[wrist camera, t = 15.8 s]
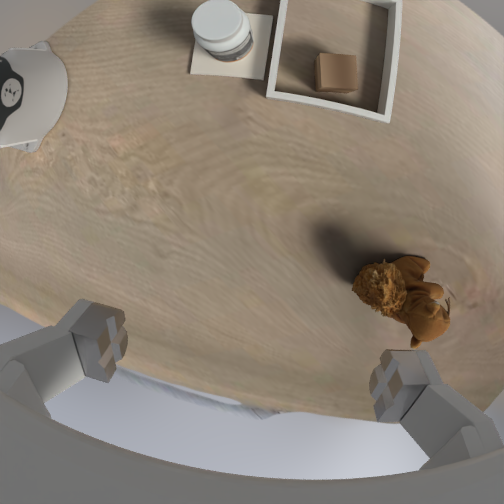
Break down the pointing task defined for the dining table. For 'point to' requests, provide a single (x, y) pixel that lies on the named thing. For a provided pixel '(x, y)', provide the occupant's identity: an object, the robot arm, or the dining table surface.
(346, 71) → the walnut block
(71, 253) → the dining table surface
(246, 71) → the coaster
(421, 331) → the stuffed squirrel
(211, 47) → the pill bottle
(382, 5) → the tray frame
